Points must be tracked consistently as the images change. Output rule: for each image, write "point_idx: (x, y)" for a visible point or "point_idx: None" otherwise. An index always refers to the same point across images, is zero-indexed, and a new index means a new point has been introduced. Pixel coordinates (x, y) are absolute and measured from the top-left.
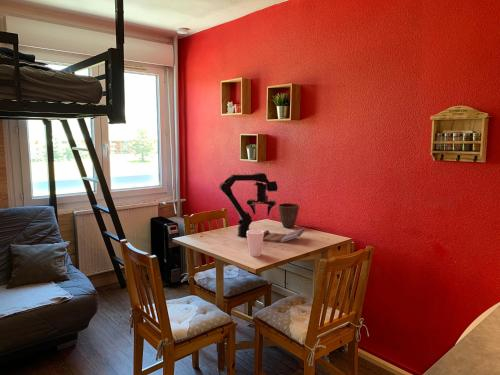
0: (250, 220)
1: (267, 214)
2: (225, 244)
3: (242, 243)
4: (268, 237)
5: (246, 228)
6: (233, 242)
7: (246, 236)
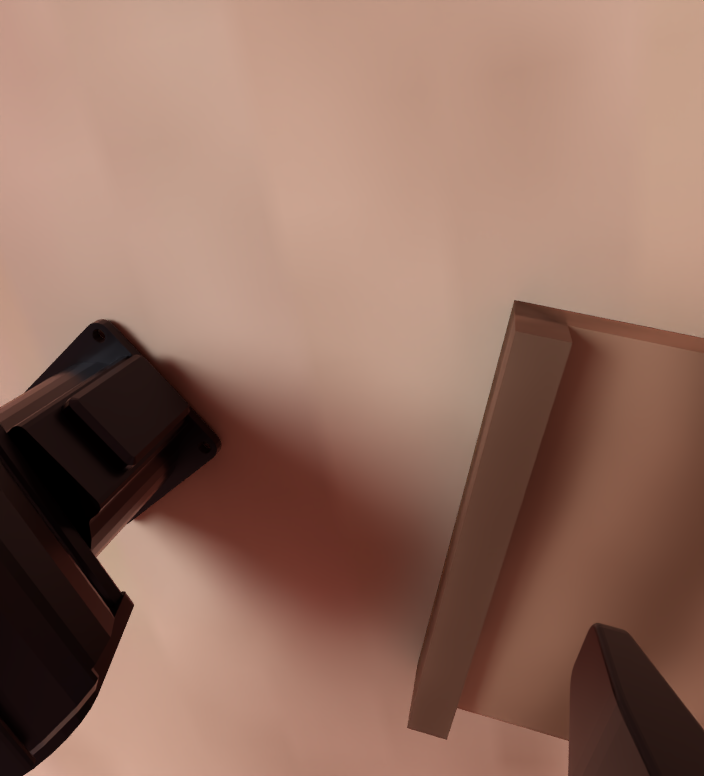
0: (71, 732)
1: (570, 762)
2: (69, 757)
3: (228, 742)
4: (565, 649)
5: (98, 552)
6: (116, 703)
7: (178, 482)
